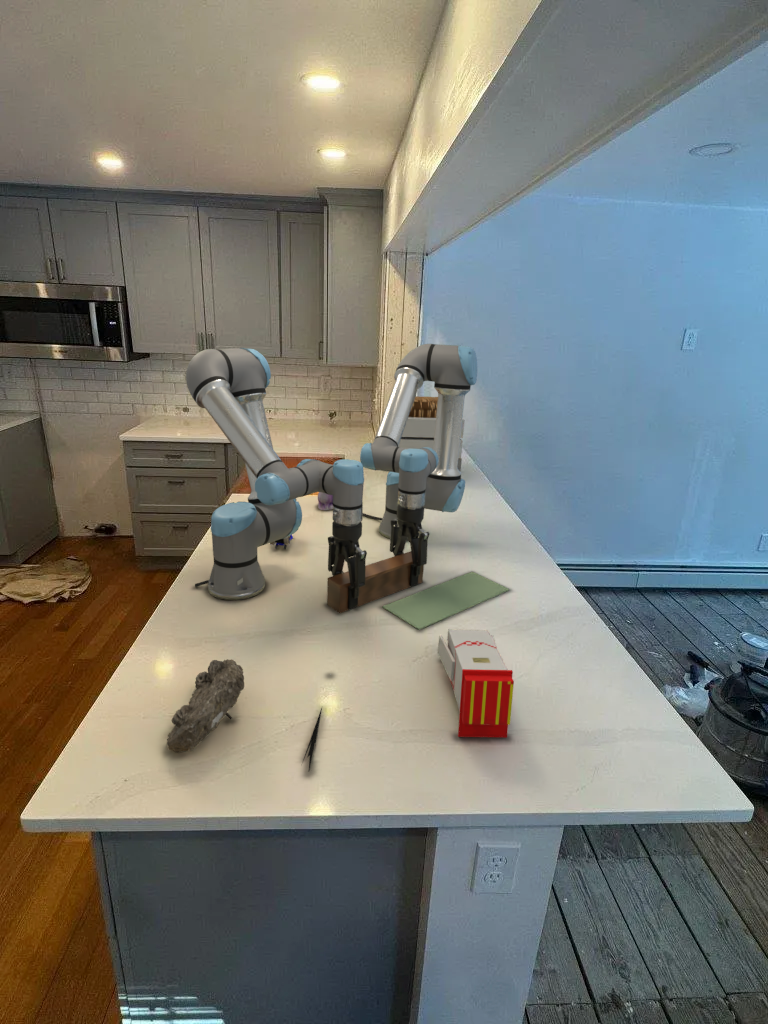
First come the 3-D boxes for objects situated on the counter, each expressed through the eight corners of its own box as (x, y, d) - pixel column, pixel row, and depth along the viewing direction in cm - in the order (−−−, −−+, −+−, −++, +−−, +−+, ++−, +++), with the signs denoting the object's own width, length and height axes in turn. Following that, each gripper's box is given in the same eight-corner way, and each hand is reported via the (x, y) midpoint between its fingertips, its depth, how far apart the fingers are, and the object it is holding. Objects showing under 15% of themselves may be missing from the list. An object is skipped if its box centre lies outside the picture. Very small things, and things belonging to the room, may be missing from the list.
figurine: (321, 512, 217) (321, 474, 212) (311, 504, 225) (311, 467, 220) (344, 509, 221) (344, 472, 216) (333, 501, 229) (334, 465, 224)
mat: (382, 607, 150) (382, 606, 150) (472, 572, 173) (472, 571, 173) (419, 630, 140) (419, 628, 140) (509, 590, 163) (509, 588, 163)
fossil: (192, 660, 117) (244, 628, 112) (224, 691, 120) (276, 661, 115) (142, 746, 98) (202, 712, 93) (182, 779, 101) (242, 748, 96)
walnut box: (339, 613, 146) (340, 585, 144) (327, 604, 150) (327, 577, 148) (422, 582, 165) (424, 557, 162) (409, 575, 169) (411, 550, 166)
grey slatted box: (382, 463, 289) (386, 382, 275) (445, 464, 293) (451, 384, 279) (390, 482, 257) (394, 392, 243) (460, 483, 261) (468, 394, 247)
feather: (331, 679, 122) (336, 673, 122) (307, 777, 96) (313, 769, 95) (324, 675, 122) (329, 669, 121) (298, 772, 95) (304, 764, 95)
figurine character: (290, 555, 182) (296, 533, 195) (289, 535, 178) (295, 513, 192) (269, 555, 181) (276, 532, 195) (268, 534, 178) (275, 513, 191)
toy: (488, 613, 130) (523, 677, 101) (484, 667, 133) (517, 744, 104) (435, 612, 130) (455, 676, 101) (432, 666, 133) (451, 743, 103)
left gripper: (314, 513, 147) (314, 593, 155) (358, 536, 134) (355, 621, 142) (337, 508, 152) (336, 585, 160) (382, 529, 139) (378, 612, 147)
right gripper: (378, 498, 161) (375, 572, 169) (424, 517, 148) (419, 596, 156) (398, 494, 165) (394, 566, 173) (444, 512, 152) (438, 589, 160)
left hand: (345, 602), depth 151 cm, fingers closed on walnut box, 6 cm apart
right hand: (406, 580), depth 164 cm, fingers closed on walnut box, 6 cm apart
